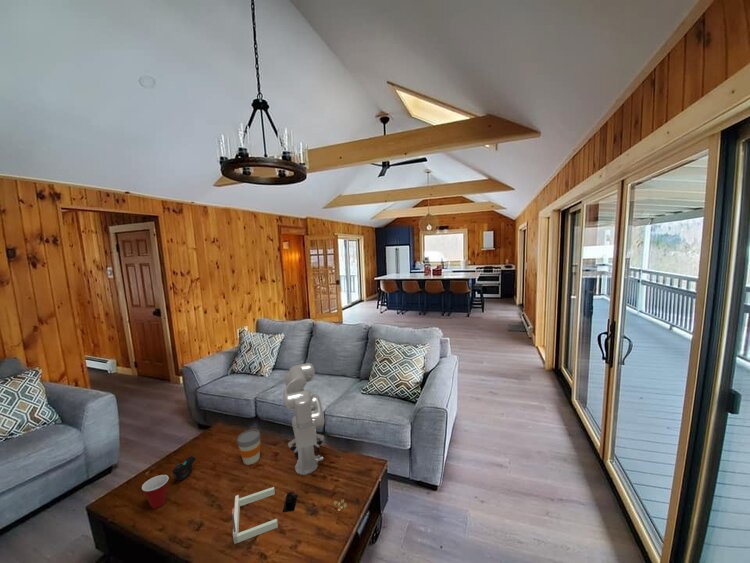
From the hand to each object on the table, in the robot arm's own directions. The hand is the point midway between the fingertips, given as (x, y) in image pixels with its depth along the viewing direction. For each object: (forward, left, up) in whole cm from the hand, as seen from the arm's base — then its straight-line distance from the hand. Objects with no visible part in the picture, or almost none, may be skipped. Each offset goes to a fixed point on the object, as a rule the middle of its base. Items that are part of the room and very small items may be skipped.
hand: (307, 455), depth 148 cm
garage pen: (+26, +1, -21) cm, 33 cm away
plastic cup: (+71, -28, -21) cm, 79 cm away
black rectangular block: (+10, +1, -21) cm, 24 cm away
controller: (+62, -43, -21) cm, 78 cm away
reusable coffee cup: (+28, -41, -21) cm, 53 cm away
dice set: (-12, +13, -22) cm, 28 cm away
